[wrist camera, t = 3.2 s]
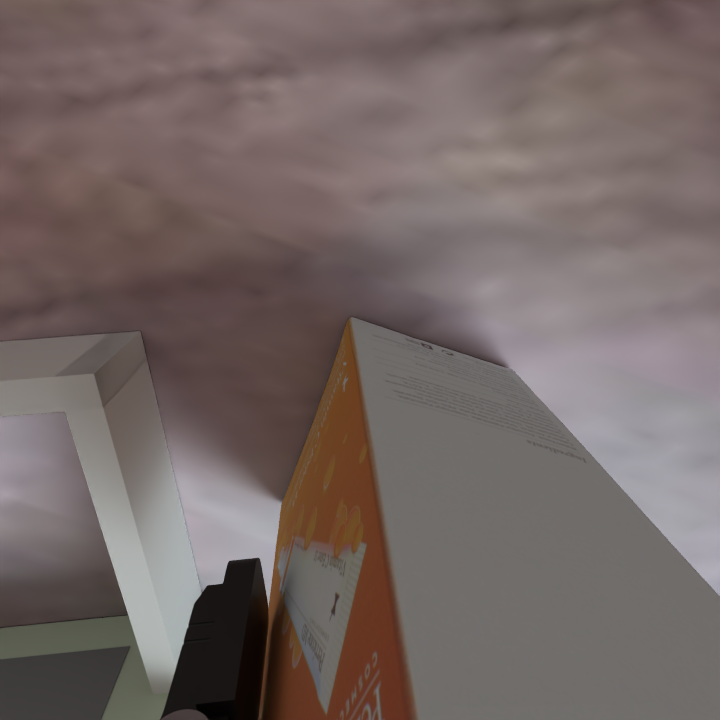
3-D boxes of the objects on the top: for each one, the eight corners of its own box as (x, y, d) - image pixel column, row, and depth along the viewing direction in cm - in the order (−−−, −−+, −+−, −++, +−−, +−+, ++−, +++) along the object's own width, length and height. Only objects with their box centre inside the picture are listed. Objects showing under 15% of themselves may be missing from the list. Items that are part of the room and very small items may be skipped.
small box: (346, 311, 16) (416, 745, 4) (516, 367, 17) (962, 832, 5) (276, 506, 19) (191, 1122, 7) (427, 543, 20) (589, 1123, 8)
